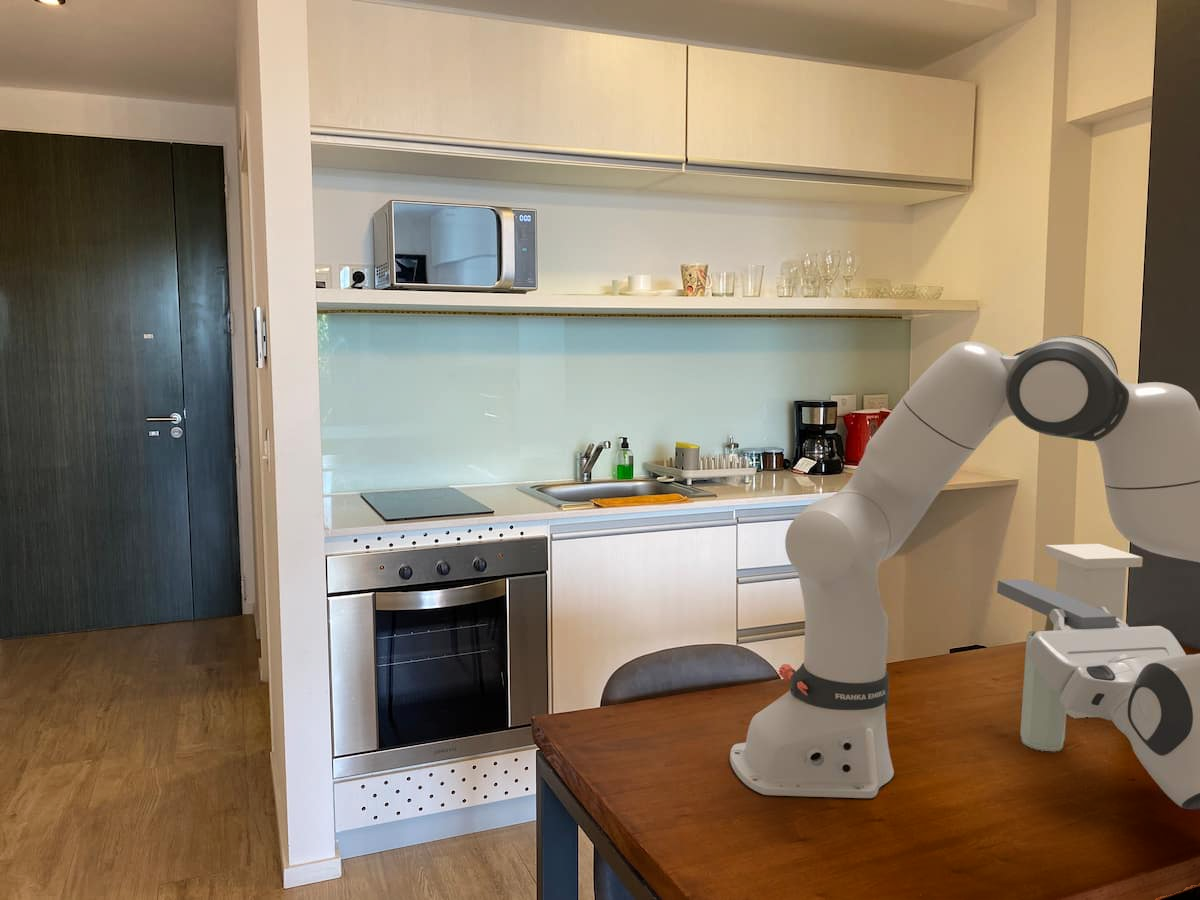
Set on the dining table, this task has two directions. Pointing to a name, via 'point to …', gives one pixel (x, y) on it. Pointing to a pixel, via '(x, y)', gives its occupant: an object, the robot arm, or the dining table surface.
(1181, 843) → the dining table surface
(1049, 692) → the jar
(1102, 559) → the stand
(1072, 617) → the cover
